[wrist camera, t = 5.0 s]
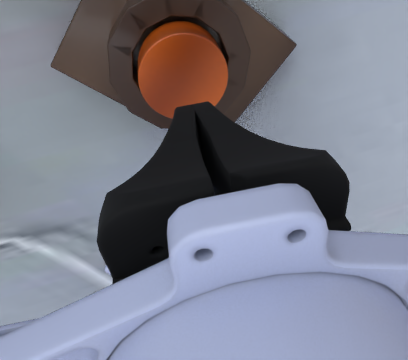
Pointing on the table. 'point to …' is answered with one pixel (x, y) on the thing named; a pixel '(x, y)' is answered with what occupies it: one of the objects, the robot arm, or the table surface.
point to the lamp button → (180, 67)
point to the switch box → (153, 18)
